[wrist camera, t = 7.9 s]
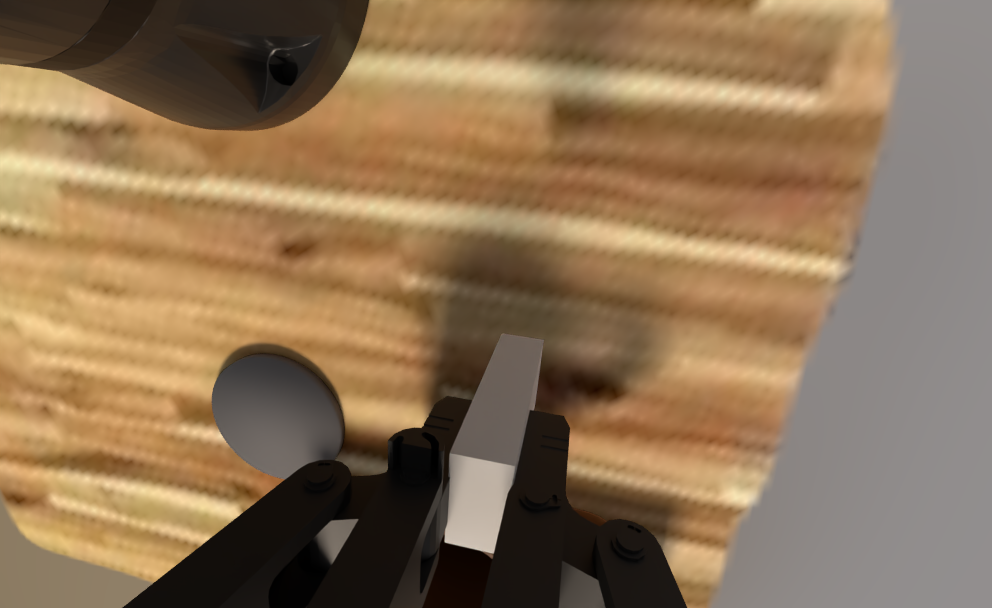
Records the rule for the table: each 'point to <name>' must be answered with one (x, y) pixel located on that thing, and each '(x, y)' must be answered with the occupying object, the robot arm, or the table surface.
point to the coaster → (277, 414)
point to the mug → (467, 573)
